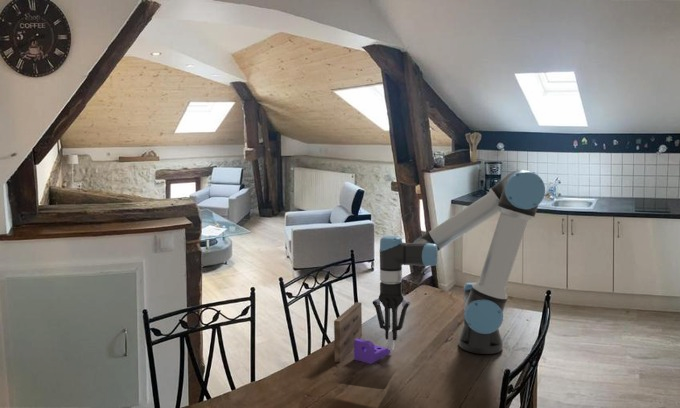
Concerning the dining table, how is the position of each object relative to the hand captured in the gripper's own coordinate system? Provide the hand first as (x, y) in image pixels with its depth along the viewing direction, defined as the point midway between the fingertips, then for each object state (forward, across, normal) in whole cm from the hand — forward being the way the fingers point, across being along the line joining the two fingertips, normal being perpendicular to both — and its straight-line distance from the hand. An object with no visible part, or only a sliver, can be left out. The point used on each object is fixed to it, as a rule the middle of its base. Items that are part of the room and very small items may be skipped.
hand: (391, 348), depth 172 cm
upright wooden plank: (+2, +15, 0) cm, 16 cm away
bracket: (+2, +6, +3) cm, 7 cm away
